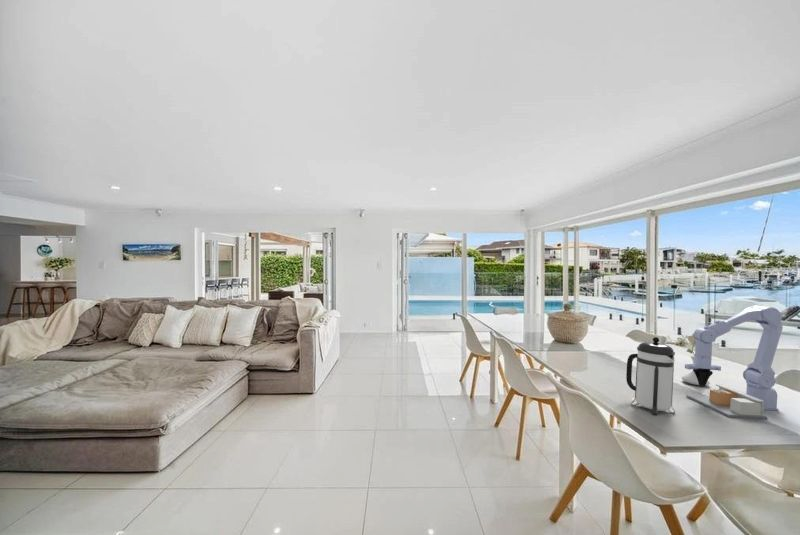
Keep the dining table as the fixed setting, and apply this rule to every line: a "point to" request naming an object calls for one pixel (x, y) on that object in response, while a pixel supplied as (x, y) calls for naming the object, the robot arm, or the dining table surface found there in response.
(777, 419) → the dining table surface
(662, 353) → the coffee press
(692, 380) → the flower in vase
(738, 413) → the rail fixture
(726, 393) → the block
